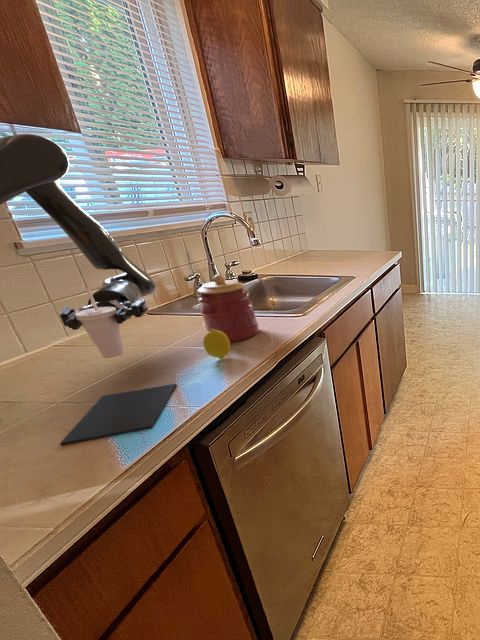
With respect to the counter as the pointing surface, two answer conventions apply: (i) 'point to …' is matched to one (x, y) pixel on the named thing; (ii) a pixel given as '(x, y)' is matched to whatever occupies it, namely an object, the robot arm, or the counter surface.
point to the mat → (121, 414)
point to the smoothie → (102, 328)
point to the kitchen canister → (228, 308)
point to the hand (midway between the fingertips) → (95, 322)
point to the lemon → (216, 343)
